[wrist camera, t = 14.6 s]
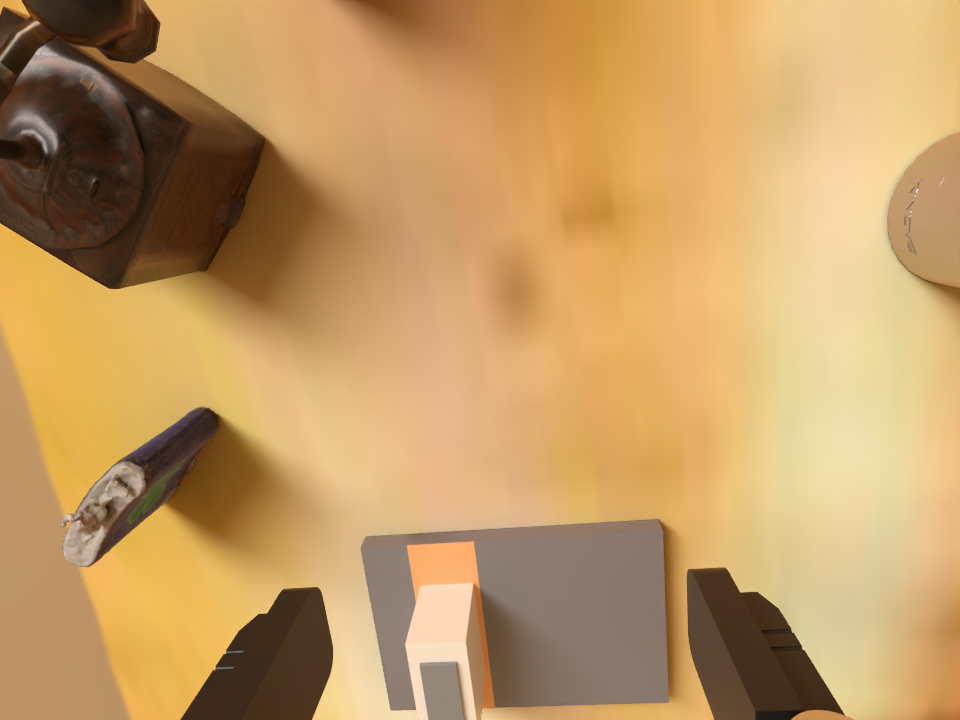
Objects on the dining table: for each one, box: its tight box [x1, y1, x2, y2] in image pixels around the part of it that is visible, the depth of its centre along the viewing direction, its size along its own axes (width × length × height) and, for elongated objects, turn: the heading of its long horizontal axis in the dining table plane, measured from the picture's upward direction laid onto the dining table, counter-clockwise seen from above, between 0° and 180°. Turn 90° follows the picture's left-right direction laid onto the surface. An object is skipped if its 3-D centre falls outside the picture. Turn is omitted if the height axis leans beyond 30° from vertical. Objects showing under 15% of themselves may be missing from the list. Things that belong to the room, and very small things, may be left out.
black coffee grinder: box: [0, 0, 265, 289], centre depth 29 cm, size 16×11×18 cm
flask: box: [62, 407, 220, 567], centre depth 39 cm, size 9×3×11 cm, turn 142°
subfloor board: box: [361, 519, 669, 710], centre depth 45 cm, size 22×15×2 cm
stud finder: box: [405, 583, 485, 720], centre depth 42 cm, size 4×8×6 cm, turn 6°
